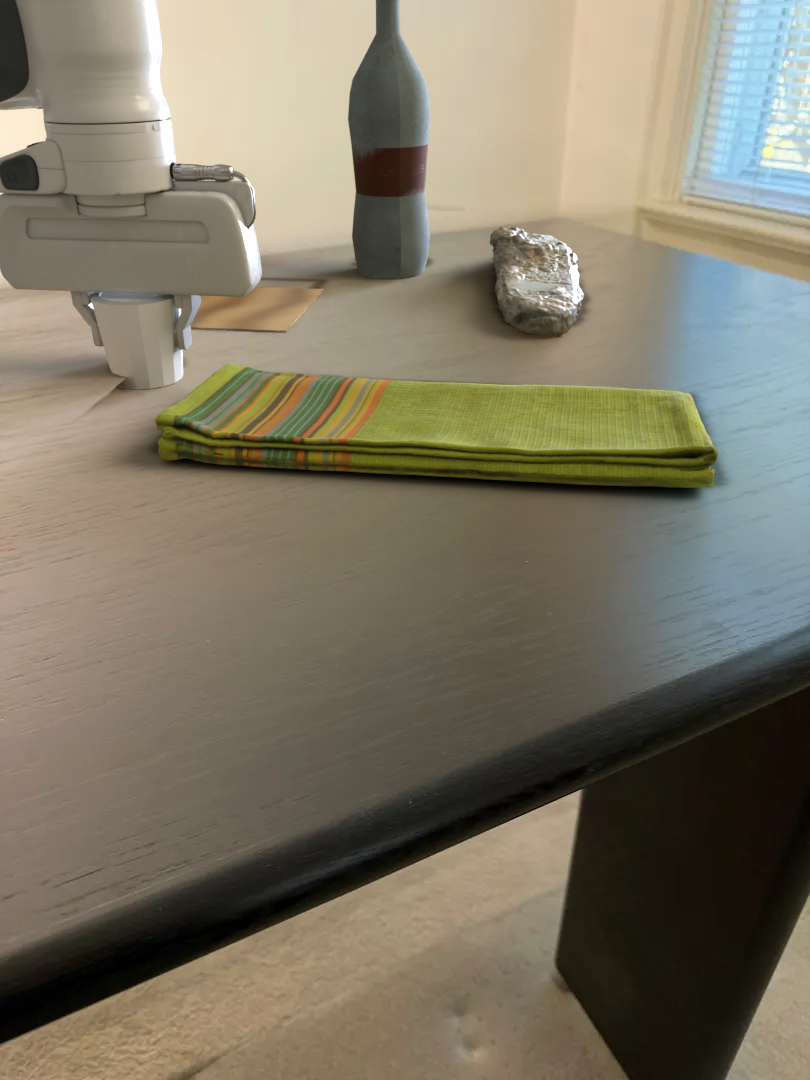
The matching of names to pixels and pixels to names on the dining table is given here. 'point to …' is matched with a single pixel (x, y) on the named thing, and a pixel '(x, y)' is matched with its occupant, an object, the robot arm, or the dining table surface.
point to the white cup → (139, 337)
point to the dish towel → (441, 429)
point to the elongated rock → (536, 281)
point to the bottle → (389, 154)
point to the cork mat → (255, 309)
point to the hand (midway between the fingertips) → (143, 346)
